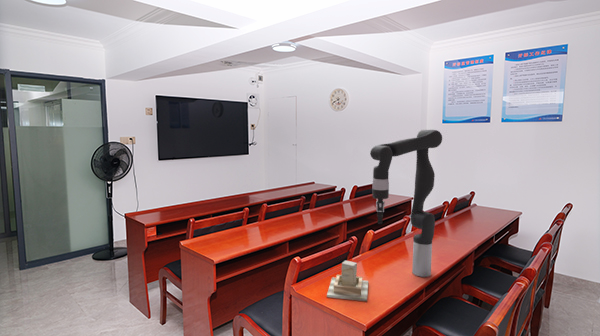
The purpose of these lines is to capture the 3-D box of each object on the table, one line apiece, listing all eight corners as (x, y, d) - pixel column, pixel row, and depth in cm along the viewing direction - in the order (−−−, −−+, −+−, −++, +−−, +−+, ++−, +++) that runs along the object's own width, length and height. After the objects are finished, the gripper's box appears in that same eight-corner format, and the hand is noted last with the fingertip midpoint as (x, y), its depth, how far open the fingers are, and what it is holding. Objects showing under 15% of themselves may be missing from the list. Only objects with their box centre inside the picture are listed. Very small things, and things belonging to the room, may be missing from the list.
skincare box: (340, 287, 161) (341, 263, 159) (344, 283, 165) (344, 259, 163) (353, 290, 157) (353, 265, 156) (356, 286, 161) (357, 262, 160)
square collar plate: (332, 279, 172) (332, 271, 171) (368, 283, 168) (368, 275, 167) (326, 297, 154) (326, 288, 154) (366, 301, 150) (367, 292, 150)
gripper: (389, 191, 152) (388, 226, 154) (388, 185, 166) (387, 217, 168) (372, 190, 153) (371, 225, 155) (372, 185, 167) (372, 217, 169)
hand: (379, 221), depth 162 cm, fingers open, 8 cm apart
